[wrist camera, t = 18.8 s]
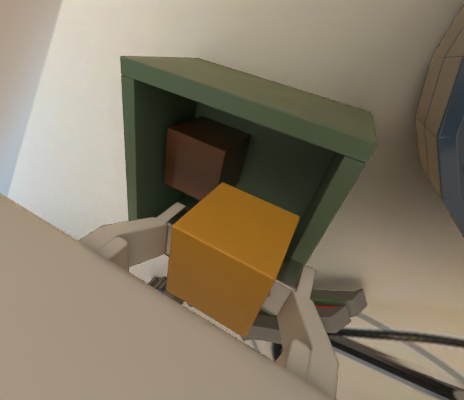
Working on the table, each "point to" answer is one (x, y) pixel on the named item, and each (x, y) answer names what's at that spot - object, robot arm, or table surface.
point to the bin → (260, 146)
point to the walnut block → (204, 156)
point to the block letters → (326, 302)
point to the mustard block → (229, 255)
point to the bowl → (445, 121)
